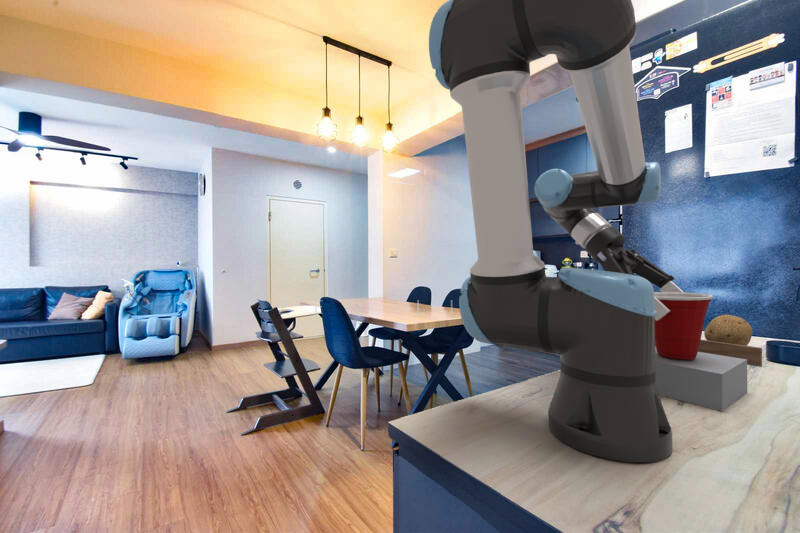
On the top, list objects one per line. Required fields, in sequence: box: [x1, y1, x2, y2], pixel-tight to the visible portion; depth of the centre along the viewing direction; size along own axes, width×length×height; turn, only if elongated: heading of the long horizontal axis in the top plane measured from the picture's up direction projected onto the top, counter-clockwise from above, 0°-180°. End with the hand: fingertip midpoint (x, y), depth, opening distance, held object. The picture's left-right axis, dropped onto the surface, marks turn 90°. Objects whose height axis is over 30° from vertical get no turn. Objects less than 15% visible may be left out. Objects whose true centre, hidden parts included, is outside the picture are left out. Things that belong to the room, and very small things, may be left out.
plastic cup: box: [654, 291, 714, 359], centre depth 68 cm, size 11×11×12 cm
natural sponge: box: [703, 314, 753, 346], centre depth 92 cm, size 9×9×10 cm
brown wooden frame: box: [655, 339, 763, 367], centre depth 81 cm, size 22×15×7 cm
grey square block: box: [655, 346, 748, 412], centre depth 68 cm, size 14×14×6 cm
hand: (678, 312), depth 69 cm, fingers open, 13 cm apart
